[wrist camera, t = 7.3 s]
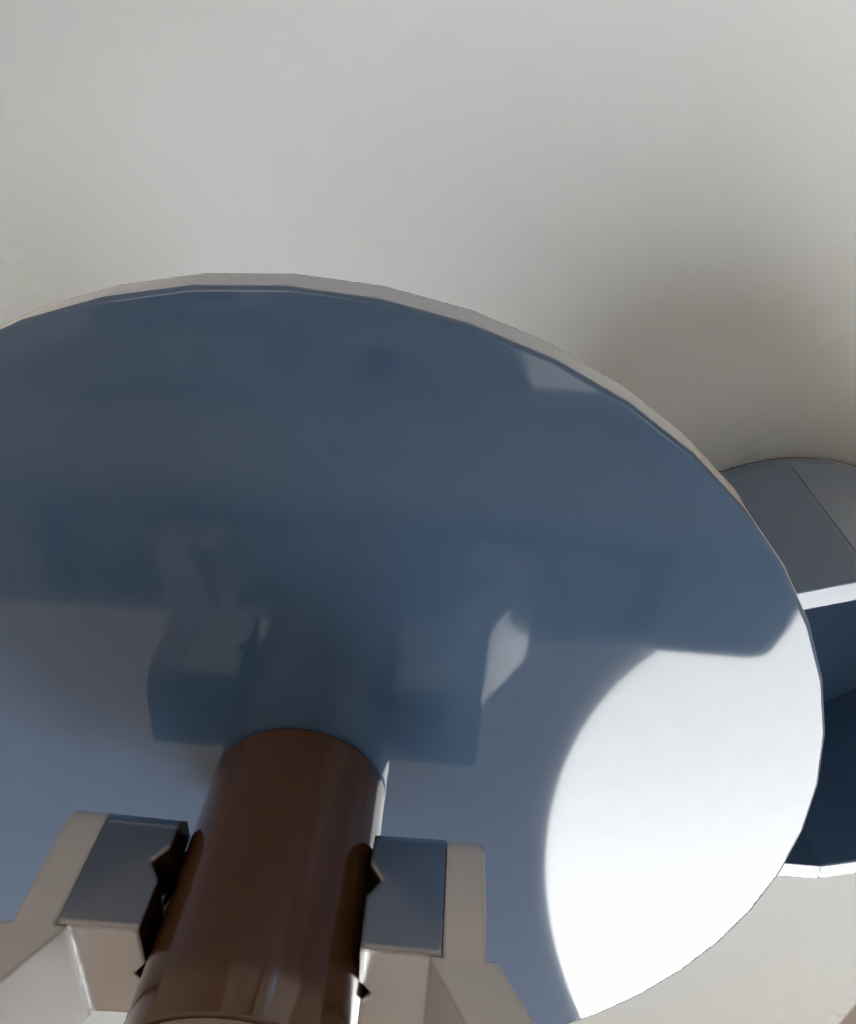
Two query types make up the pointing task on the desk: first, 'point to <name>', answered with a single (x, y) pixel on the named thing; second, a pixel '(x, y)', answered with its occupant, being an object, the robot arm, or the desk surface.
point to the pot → (818, 630)
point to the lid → (384, 639)
